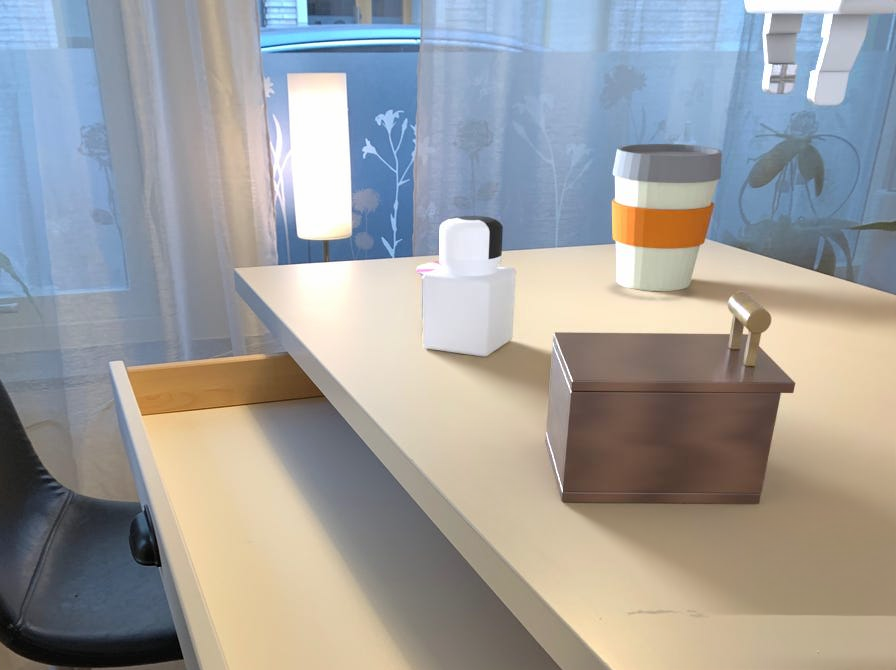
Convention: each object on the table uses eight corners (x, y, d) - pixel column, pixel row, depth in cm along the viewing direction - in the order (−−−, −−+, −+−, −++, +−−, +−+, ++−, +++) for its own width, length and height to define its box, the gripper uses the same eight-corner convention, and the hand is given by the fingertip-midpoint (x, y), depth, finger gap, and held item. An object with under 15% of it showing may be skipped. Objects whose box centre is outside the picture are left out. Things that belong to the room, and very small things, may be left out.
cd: (472, 257, 138) (472, 256, 138) (519, 273, 130) (519, 272, 130) (400, 266, 134) (400, 265, 133) (444, 283, 125) (444, 282, 125)
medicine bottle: (450, 331, 107) (452, 209, 101) (513, 340, 104) (520, 215, 98) (420, 348, 102) (421, 220, 95) (486, 358, 99) (491, 227, 93)
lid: (746, 343, 76) (757, 280, 73) (793, 393, 66) (808, 323, 63) (552, 341, 76) (557, 279, 73) (571, 391, 66) (577, 320, 63)
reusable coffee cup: (684, 299, 119) (704, 159, 111) (585, 286, 125) (598, 151, 117) (718, 279, 128) (738, 148, 120) (624, 267, 134) (638, 141, 126)
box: (718, 443, 80) (735, 343, 76) (759, 504, 70) (781, 393, 66) (545, 441, 80) (552, 342, 76) (561, 502, 70) (571, 391, 66)
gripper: (986, -211, 49) (916, 112, 56) (838, -153, 66) (798, 87, 74) (855, -209, 49) (801, 113, 56) (741, -152, 66) (711, 89, 74)
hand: (799, 98), depth 65 cm, fingers open, 8 cm apart
